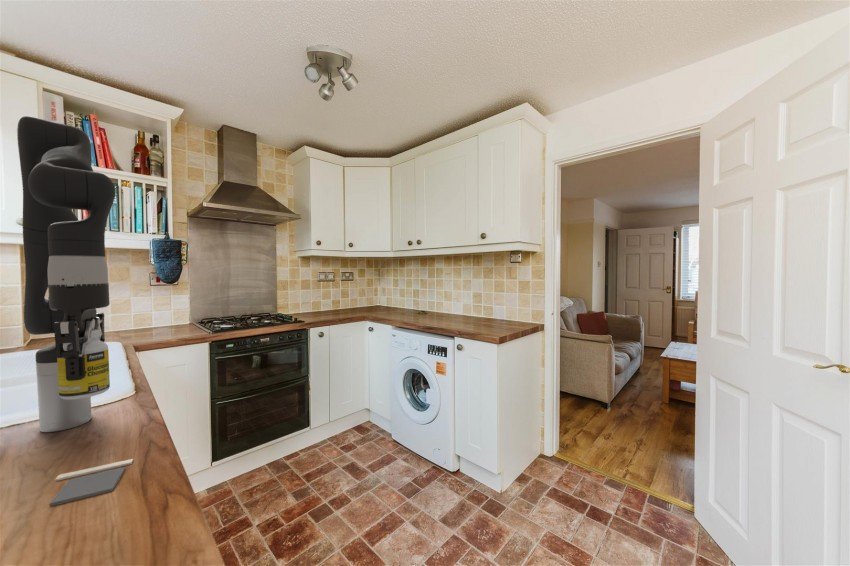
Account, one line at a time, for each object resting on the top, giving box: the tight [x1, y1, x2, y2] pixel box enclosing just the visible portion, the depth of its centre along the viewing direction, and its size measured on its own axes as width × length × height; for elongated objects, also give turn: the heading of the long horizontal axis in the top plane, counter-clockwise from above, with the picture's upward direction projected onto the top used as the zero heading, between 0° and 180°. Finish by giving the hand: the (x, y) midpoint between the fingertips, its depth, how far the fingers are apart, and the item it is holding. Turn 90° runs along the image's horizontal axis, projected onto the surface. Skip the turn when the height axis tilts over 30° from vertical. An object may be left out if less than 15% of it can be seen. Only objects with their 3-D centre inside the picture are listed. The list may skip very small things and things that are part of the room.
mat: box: [49, 466, 126, 507], centre depth 62 cm, size 8×8×1 cm
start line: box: [54, 458, 134, 482], centre depth 67 cm, size 2×11×1 cm, turn 119°
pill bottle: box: [57, 328, 111, 400], centre depth 61 cm, size 6×6×12 cm
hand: (84, 373), depth 61 cm, fingers closed on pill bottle, 6 cm apart
